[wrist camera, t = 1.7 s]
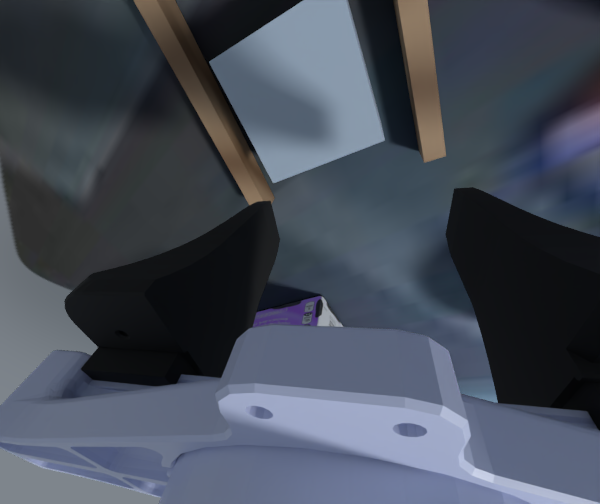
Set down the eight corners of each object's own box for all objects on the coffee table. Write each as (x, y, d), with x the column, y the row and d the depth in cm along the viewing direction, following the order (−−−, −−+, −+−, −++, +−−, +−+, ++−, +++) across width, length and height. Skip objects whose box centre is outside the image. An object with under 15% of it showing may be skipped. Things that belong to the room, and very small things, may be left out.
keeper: (381, 121, 18) (384, 140, 15) (286, 160, 21) (273, 183, 18) (344, -13, 14) (339, -24, 11) (236, 56, 17) (208, 61, 14)
